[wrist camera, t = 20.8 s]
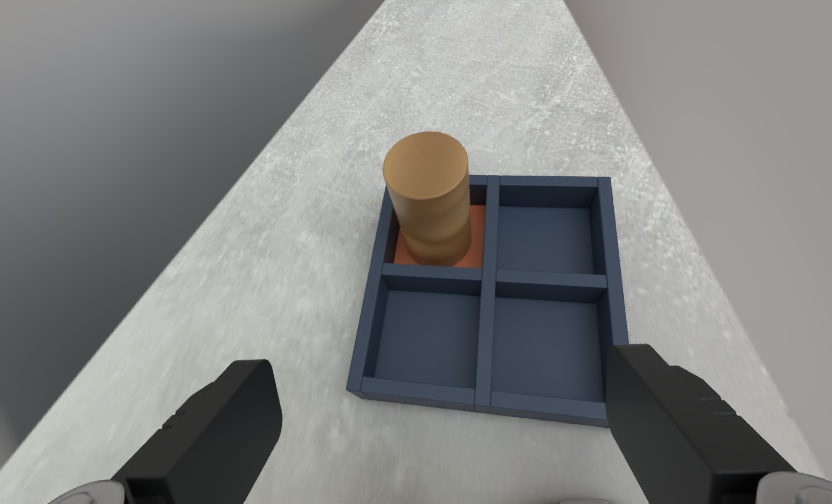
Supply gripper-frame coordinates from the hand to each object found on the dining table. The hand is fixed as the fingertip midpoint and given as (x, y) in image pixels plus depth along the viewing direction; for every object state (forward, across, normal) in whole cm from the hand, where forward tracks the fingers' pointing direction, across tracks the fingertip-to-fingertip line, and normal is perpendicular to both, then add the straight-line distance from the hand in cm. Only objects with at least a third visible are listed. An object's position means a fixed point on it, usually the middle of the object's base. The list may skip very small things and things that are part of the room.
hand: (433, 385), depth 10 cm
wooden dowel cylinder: (+18, 0, +1) cm, 18 cm away
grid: (+16, -3, +5) cm, 17 cm away
